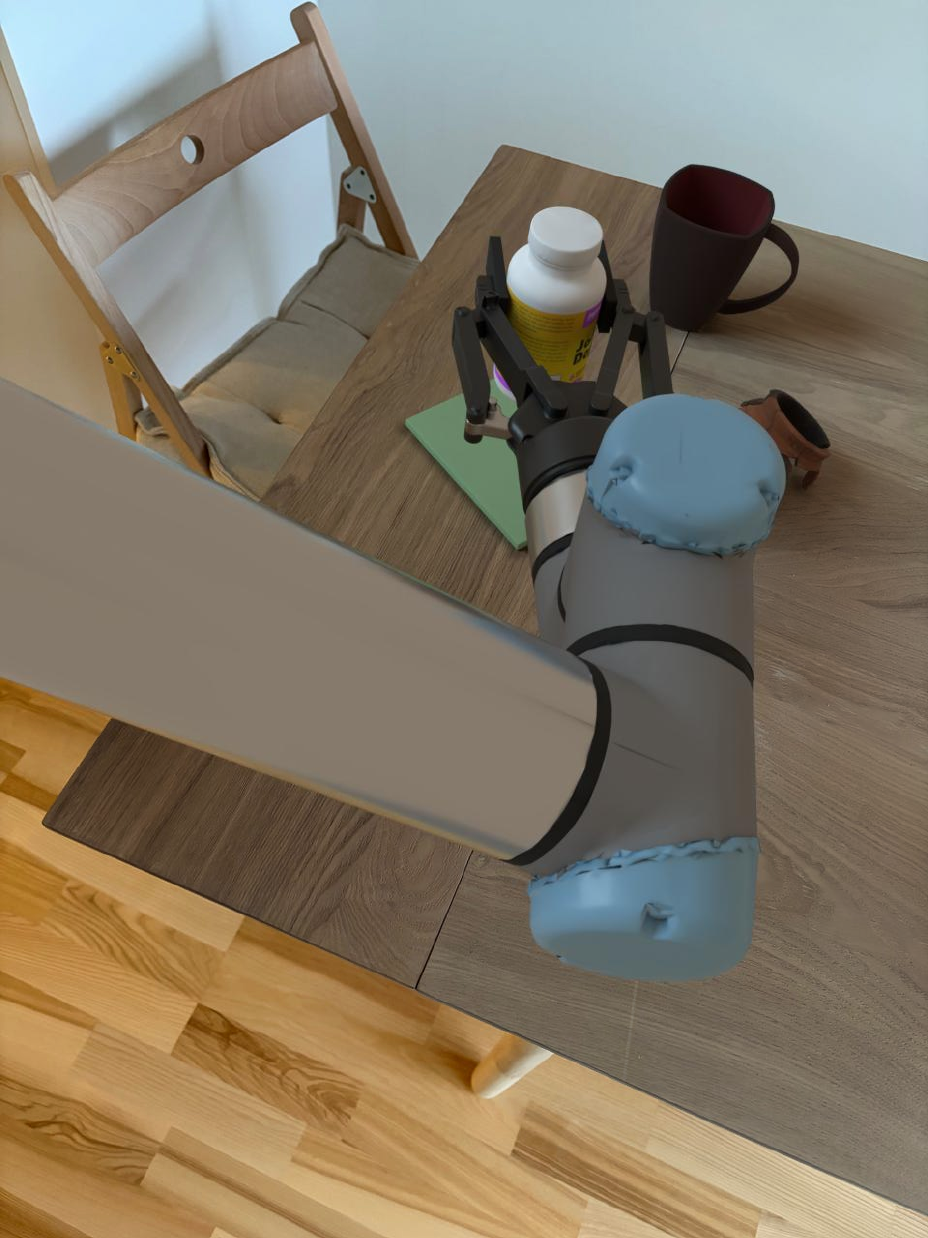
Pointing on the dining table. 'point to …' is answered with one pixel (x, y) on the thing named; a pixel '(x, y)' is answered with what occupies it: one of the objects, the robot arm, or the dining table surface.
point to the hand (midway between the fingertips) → (544, 254)
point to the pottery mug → (791, 432)
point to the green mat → (476, 462)
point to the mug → (710, 245)
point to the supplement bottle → (557, 292)
